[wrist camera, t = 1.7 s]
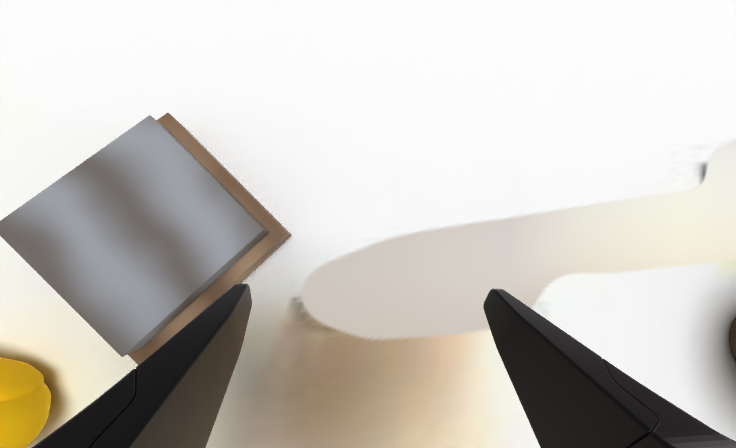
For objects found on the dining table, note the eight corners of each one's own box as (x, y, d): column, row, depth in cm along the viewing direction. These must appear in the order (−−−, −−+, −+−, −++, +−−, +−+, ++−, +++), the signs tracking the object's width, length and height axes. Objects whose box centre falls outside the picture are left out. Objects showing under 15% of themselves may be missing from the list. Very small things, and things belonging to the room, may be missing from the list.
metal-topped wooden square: (162, 355, 21) (119, 380, 17) (41, 233, 21) (-35, 226, 17) (291, 235, 24) (283, 229, 20) (184, 127, 24) (151, 97, 20)
